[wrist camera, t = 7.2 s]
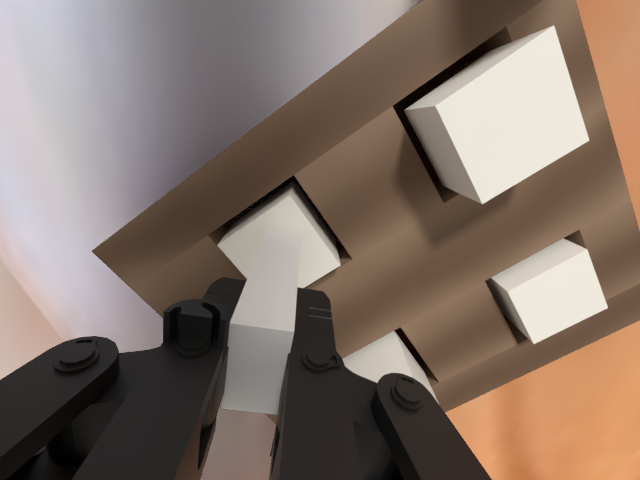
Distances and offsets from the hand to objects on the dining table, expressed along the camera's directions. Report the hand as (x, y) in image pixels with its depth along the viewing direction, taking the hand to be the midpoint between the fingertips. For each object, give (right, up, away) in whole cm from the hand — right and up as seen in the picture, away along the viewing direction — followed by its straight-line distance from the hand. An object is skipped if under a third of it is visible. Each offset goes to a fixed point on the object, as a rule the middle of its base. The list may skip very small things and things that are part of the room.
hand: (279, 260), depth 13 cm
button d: (+14, -1, +5) cm, 15 cm away
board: (+6, 0, +5) cm, 8 cm away
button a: (0, +1, +3) cm, 4 cm away
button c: (+8, +6, 0) cm, 10 cm away
